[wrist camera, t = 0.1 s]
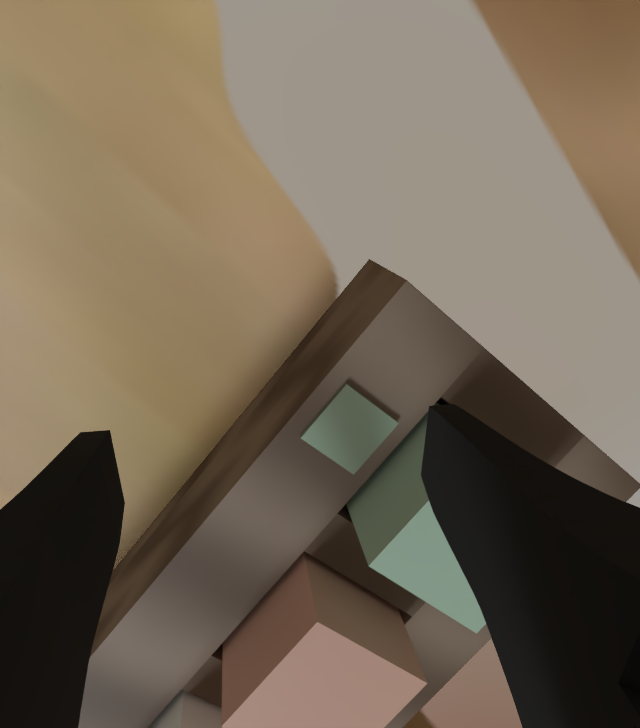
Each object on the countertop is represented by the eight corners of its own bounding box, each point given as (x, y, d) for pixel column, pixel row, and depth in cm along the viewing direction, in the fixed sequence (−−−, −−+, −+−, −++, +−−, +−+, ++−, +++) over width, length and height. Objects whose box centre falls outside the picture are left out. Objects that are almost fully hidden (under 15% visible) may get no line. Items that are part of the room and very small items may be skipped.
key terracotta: (318, 682, 24) (335, 777, 20) (222, 633, 22) (221, 726, 18) (394, 600, 23) (427, 683, 19) (301, 543, 21) (317, 621, 17)
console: (246, 772, 30) (249, 887, 25) (24, 678, 26) (-23, 793, 21) (568, 431, 26) (645, 488, 21) (369, 259, 22) (408, 281, 17)
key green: (435, 557, 22) (476, 633, 19) (343, 496, 21) (368, 566, 17) (519, 467, 22) (580, 527, 18) (431, 397, 20) (477, 447, 16)
